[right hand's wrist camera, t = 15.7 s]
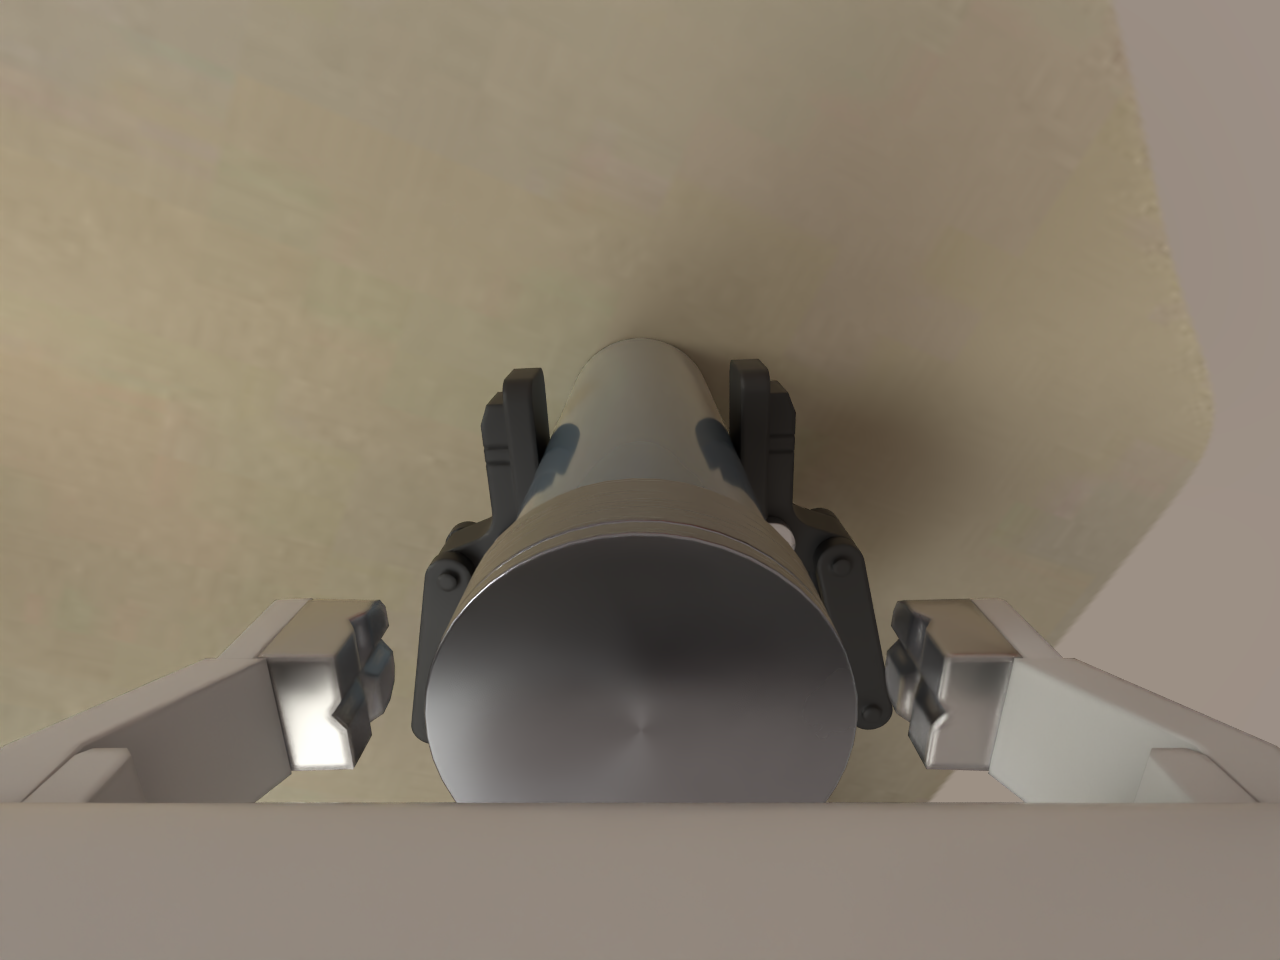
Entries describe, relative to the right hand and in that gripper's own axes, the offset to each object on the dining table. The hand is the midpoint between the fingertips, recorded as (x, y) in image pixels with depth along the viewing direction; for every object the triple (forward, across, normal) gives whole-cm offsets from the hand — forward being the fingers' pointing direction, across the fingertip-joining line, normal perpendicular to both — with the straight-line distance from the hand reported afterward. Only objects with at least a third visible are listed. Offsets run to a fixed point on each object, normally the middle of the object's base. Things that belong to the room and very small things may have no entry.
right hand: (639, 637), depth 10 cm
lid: (-2, 0, 0) cm, 2 cm away
